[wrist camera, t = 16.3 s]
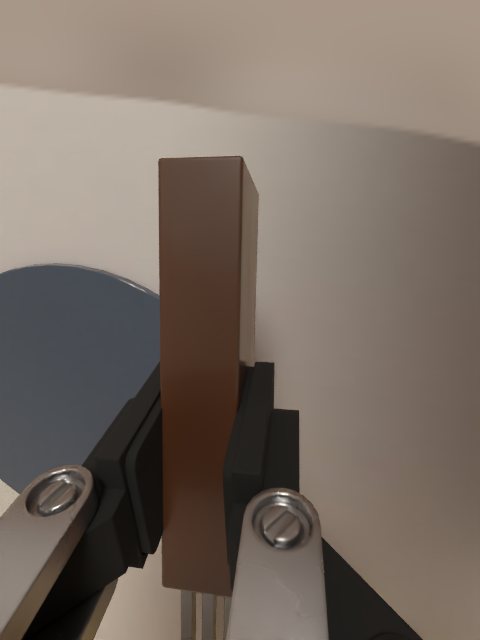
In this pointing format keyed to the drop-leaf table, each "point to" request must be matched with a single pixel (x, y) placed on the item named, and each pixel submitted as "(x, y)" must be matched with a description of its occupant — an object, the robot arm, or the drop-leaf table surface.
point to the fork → (202, 365)
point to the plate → (68, 362)
